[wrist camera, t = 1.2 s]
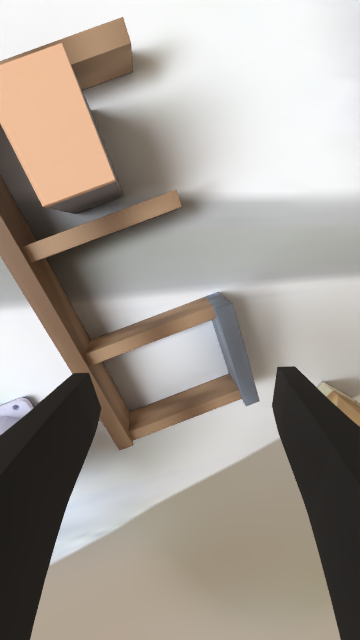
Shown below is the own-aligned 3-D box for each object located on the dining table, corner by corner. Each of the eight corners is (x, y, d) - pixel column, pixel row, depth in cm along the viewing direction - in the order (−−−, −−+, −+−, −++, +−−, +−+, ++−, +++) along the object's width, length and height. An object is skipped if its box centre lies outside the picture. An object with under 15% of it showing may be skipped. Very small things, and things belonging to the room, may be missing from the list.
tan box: (74, 213, 17) (42, 206, 12) (35, 130, 15) (-25, 74, 10) (123, 195, 17) (115, 179, 12) (90, 110, 15) (61, 43, 10)
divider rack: (122, 424, 24) (119, 455, 20) (-55, 116, 14) (-112, 83, 11) (243, 377, 24) (259, 401, 21) (144, 43, 15) (146, -9, 11)
